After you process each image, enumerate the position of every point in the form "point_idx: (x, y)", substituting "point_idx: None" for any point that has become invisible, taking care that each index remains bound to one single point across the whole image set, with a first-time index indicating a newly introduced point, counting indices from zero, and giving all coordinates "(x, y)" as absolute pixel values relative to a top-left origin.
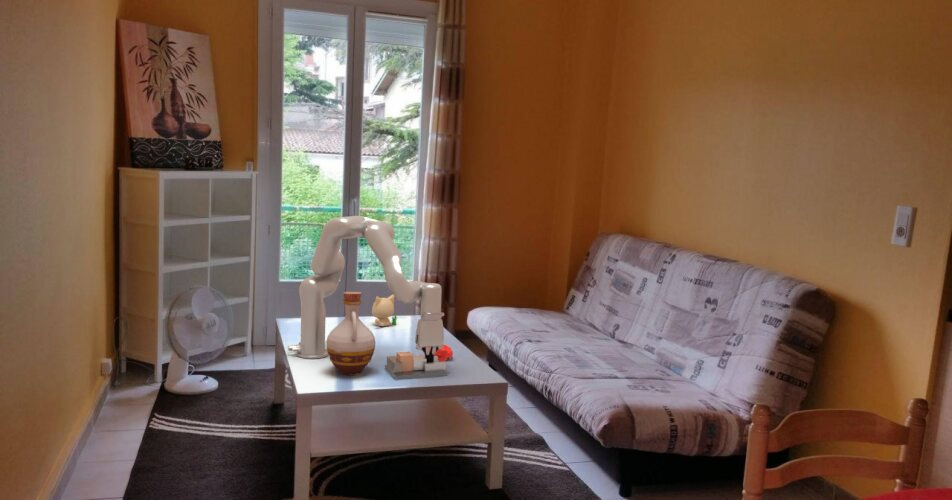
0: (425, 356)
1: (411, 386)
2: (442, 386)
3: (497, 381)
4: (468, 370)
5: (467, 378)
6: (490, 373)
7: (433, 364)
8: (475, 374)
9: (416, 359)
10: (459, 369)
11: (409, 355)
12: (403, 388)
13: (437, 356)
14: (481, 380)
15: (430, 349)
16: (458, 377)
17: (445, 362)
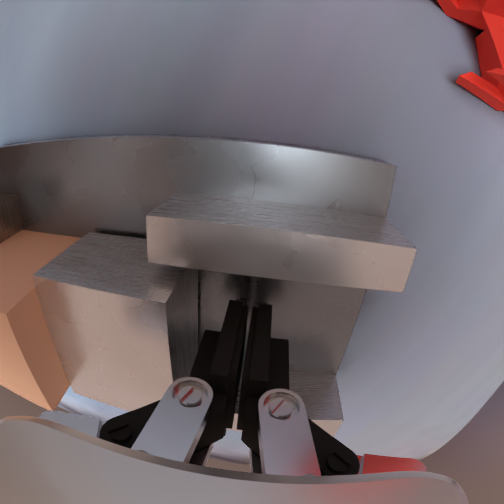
0: (194, 374)
1: (99, 415)
2: (215, 458)
3: (429, 453)
4: (477, 342)
5: (375, 430)
6: (494, 390)
7: (233, 423)
8: (447, 396)
9: (92, 395)
10: (461, 315)
11: (27, 398)
12: (73, 412)
13: (402, 285)
14: (399, 447)
15: (259, 436)
16: (352, 417)
17: (332, 434)
